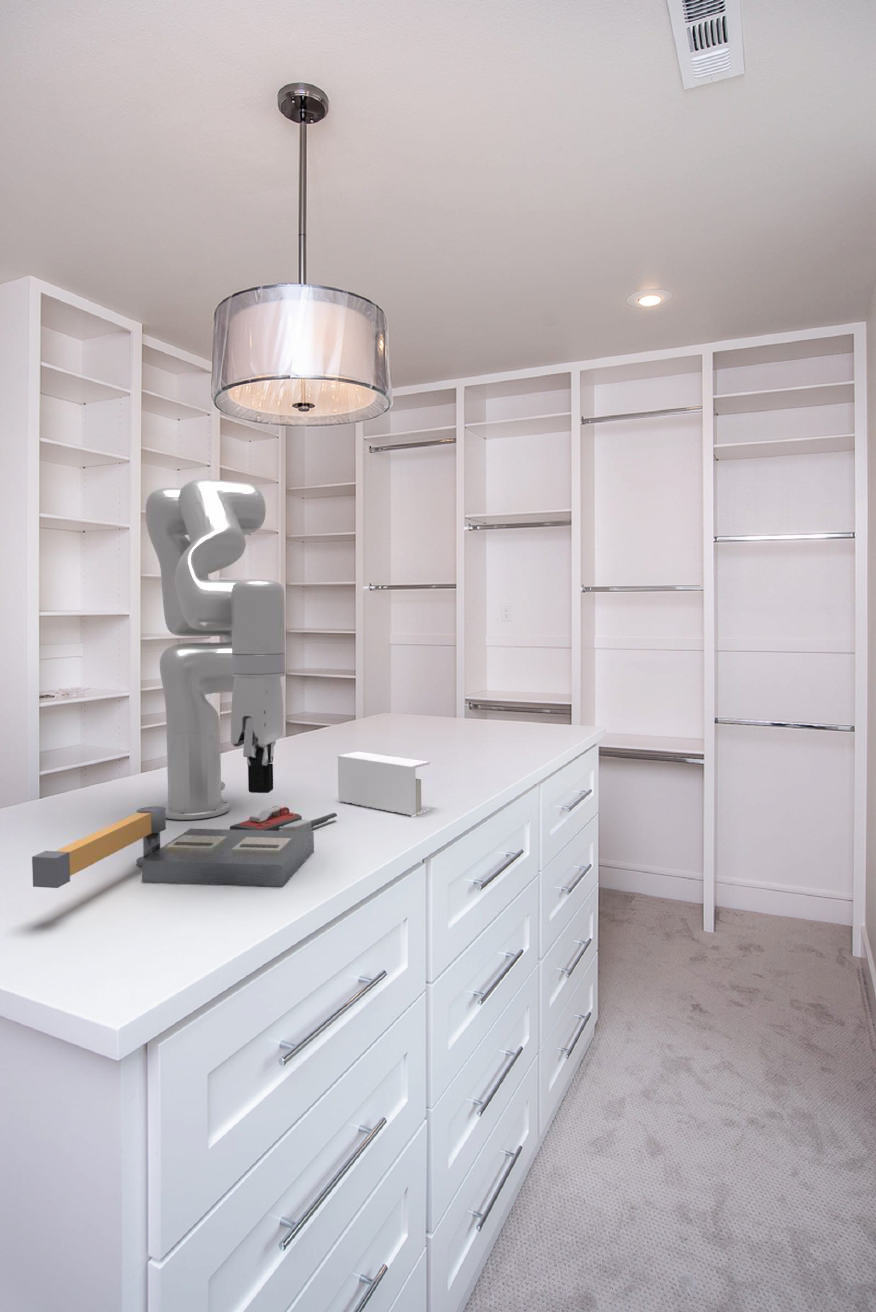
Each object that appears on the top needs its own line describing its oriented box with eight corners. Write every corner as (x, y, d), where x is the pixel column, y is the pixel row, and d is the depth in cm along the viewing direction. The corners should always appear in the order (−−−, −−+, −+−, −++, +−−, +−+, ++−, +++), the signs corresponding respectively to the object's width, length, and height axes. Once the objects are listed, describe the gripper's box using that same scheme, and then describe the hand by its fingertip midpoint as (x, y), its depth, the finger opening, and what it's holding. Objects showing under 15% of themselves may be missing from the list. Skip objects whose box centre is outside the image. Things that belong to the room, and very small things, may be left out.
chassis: (191, 847, 123) (190, 825, 123) (313, 850, 121) (313, 828, 120) (142, 881, 107) (141, 856, 107) (282, 886, 105) (281, 861, 105)
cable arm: (146, 827, 117) (145, 803, 117) (170, 828, 117) (170, 804, 116) (30, 886, 92) (29, 856, 92) (60, 888, 91) (59, 858, 91)
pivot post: (145, 857, 118) (144, 828, 117) (173, 858, 117) (172, 829, 117) (130, 867, 113) (130, 836, 113) (159, 867, 113) (158, 837, 113)
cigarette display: (430, 811, 145) (430, 761, 144) (412, 817, 140) (411, 766, 140) (353, 796, 157) (352, 750, 156) (333, 801, 153) (333, 754, 152)
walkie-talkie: (261, 853, 121) (340, 823, 138) (260, 825, 120) (340, 798, 138) (221, 844, 125) (303, 816, 142) (220, 818, 125) (302, 793, 142)
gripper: (251, 662, 120) (253, 780, 121) (213, 670, 105) (216, 803, 106) (299, 663, 119) (300, 781, 120) (267, 670, 104) (269, 804, 105)
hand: (260, 791), depth 113 cm, fingers closed
